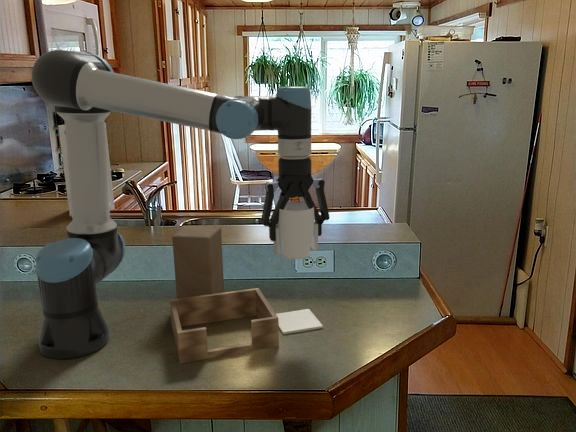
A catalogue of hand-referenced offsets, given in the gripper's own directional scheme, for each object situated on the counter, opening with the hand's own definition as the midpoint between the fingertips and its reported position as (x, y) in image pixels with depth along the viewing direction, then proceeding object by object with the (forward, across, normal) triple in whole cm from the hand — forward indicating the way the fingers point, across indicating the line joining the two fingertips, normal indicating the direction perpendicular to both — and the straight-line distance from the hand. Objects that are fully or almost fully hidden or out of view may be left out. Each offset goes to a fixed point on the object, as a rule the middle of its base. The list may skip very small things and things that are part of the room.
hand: (295, 251), depth 124 cm
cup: (+1, 0, 0) cm, 1 cm away
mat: (+19, 0, 0) cm, 19 cm away
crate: (+19, -18, -1) cm, 26 cm away
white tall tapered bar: (+19, -56, +138) cm, 150 cm away
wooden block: (+19, -20, +20) cm, 34 cm away
